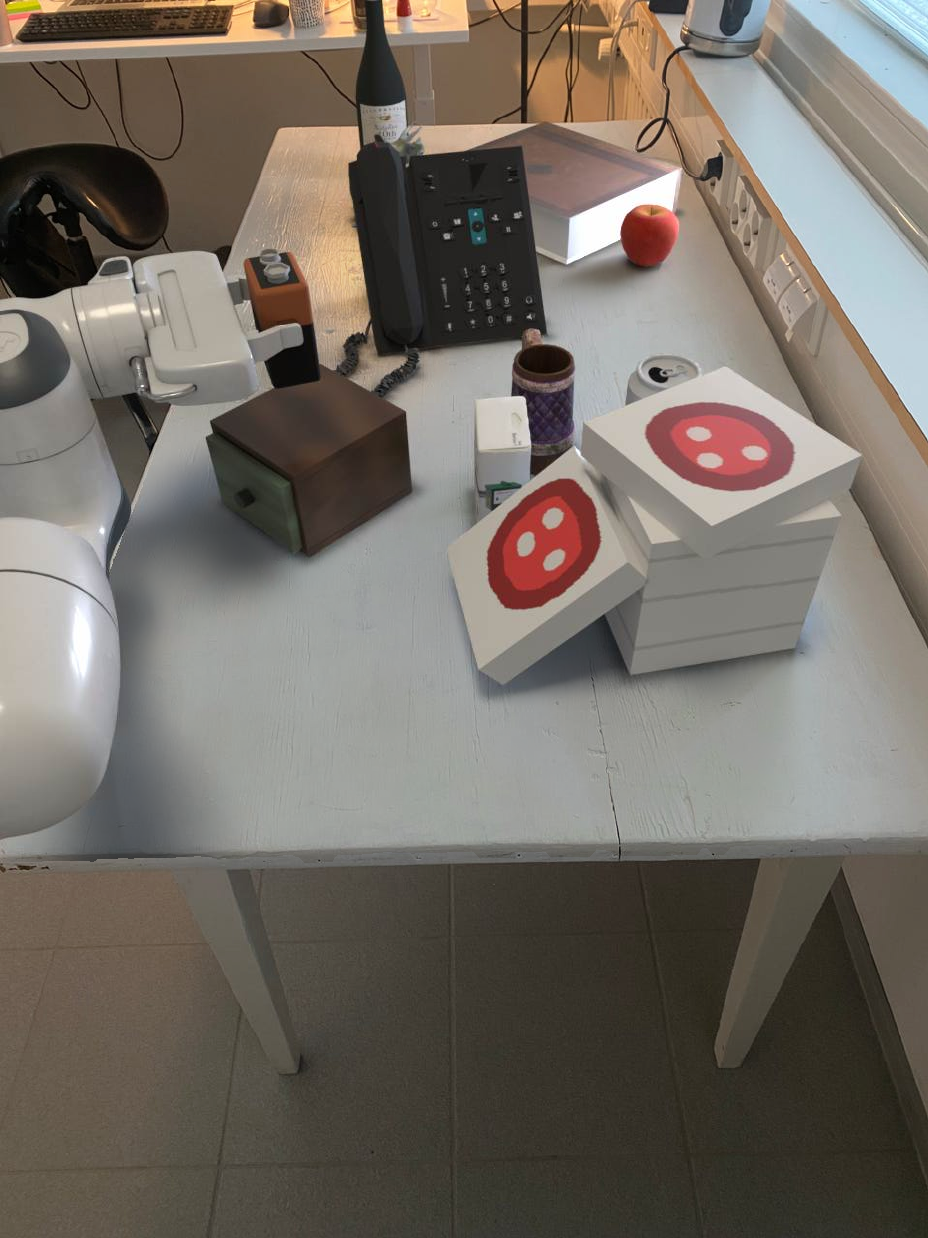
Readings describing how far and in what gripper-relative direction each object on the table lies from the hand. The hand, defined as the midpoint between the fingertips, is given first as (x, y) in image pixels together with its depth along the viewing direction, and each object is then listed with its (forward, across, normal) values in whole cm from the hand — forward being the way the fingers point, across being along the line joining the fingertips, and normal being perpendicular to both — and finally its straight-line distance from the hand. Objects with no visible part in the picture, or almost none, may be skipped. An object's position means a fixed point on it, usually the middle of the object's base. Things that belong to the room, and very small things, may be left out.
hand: (291, 308), depth 80 cm
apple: (+55, +37, +22) cm, 70 cm away
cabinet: (0, +1, +22) cm, 22 cm away
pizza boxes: (+22, -24, +22) cm, 40 cm away
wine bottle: (+30, +82, +22) cm, 89 cm away
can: (+34, -6, +22) cm, 41 cm away
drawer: (-2, 0, +21) cm, 21 cm away
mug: (+24, +2, +22) cm, 32 cm away
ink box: (+16, -9, +22) cm, 28 cm away
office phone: (+20, +28, +22) cm, 40 cm away
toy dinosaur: (+23, +64, +22) cm, 72 cm away
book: (+50, +58, +21) cm, 79 cm away
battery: (-1, 0, +6) cm, 6 cm away
